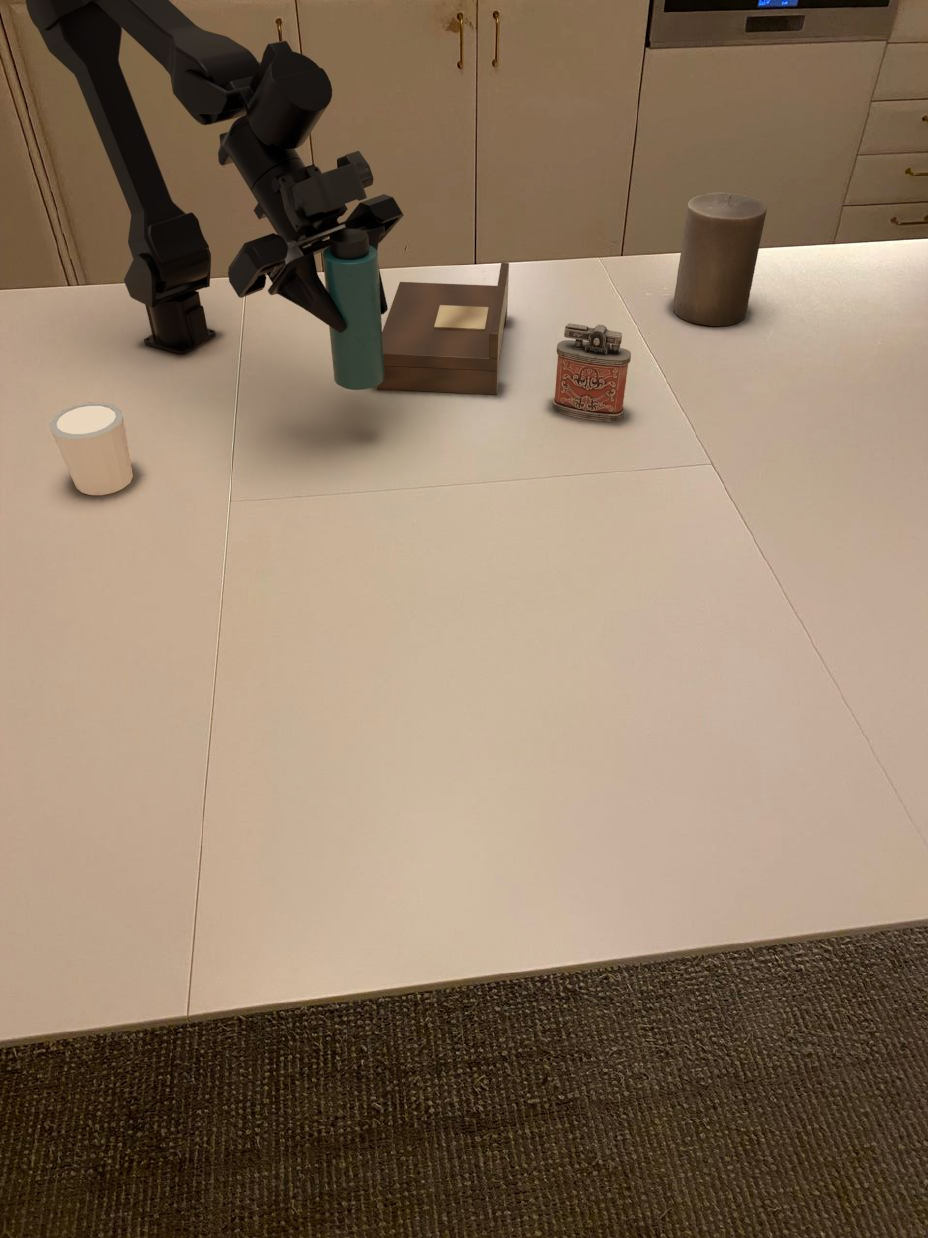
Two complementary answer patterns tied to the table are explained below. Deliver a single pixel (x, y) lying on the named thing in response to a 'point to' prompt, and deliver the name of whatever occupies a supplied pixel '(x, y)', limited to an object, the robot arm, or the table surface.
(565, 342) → the lighter
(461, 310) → the wooden box
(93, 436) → the cream cylinder
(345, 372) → the water bottle
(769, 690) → the table surface
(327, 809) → the table surface
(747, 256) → the pillar candle
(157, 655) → the table surface
